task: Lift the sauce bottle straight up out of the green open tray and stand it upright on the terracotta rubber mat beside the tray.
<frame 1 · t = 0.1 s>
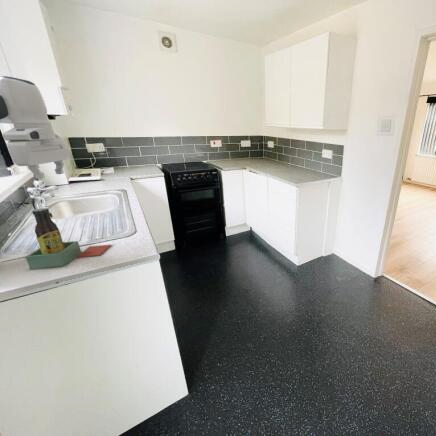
hand: (51, 176, 84), 31 cm above the countertop, tool pointing down, fingers open, 8 cm apart
sauce bottle: (57, 260, 91), resting in green open tray
green open tray: (57, 260, 91), on the countertop
drying mat: (94, 251, 98), on the countertop
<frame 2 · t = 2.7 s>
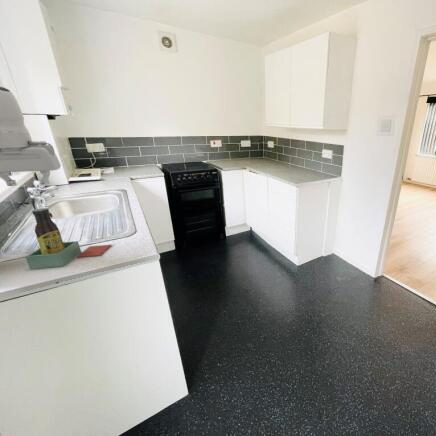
hand: (29, 185, 82), 29 cm above the countertop, tool pointing down, fingers open, 8 cm apart
nothing on the countertop moved.
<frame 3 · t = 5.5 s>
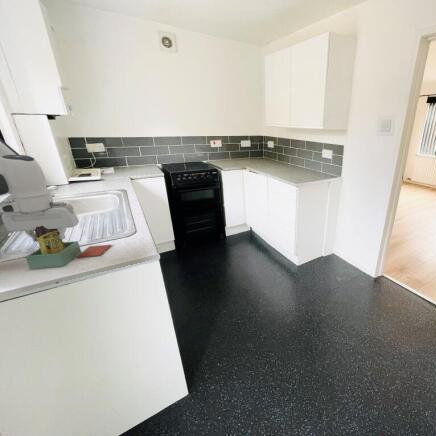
hand: (49, 240, 89), 8 cm above the countertop, tool pointing down, fingers closed on sauce bottle, 6 cm apart
sauce bottle: (57, 260, 91), resting in green open tray, touching arm, gripper
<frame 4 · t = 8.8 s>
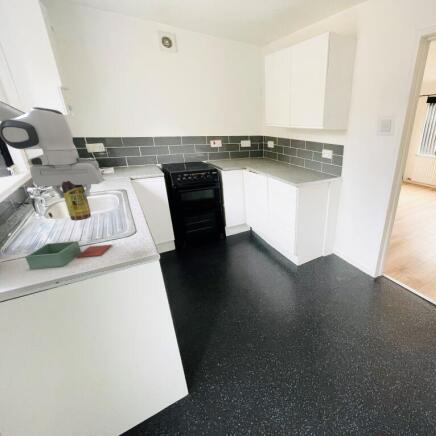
hand: (75, 197, 90), 23 cm above the countertop, tool pointing down, fingers closed on sauce bottle, 6 cm apart
sauce bottle: (82, 218, 93), point 14 cm above the countertop, touching arm, gripper
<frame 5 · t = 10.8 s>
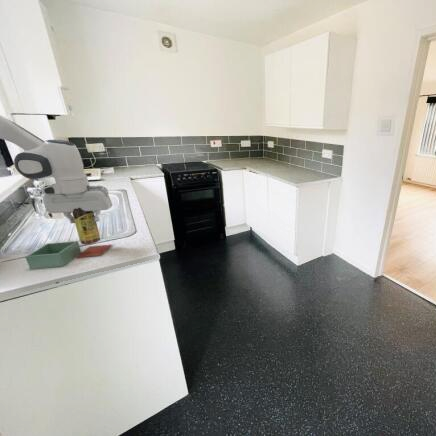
hand: (85, 222, 94), 13 cm above the countertop, tool pointing down, fingers closed on sauce bottle, 6 cm apart
sauce bottle: (91, 242, 96), point 4 cm above the countertop, touching arm, gripper
when the fingers open (9 cm above the countertop, at t = 12.4 s): sauce bottle stays where it is, resting on drying mat.
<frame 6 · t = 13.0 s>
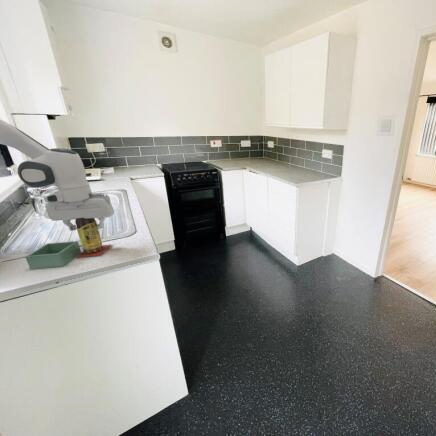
hand: (87, 229, 94), 10 cm above the countertop, tool pointing down, fingers open, 8 cm apart
sauce bottle: (94, 250, 98), resting on drying mat
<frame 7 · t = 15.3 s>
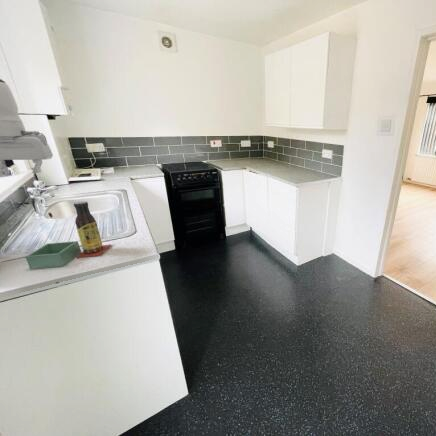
hand: (21, 173, 85), 32 cm above the countertop, tool pointing down, fingers open, 8 cm apart
nothing on the countertop moved.
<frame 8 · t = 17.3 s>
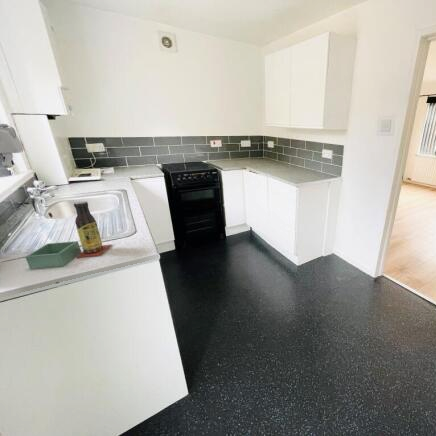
nothing on the countertop moved.
at the end: sauce bottle 0.1 cm from the target spot, resting on drying mat; sauce bottle tilted 0°; the gripper is holding nothing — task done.
